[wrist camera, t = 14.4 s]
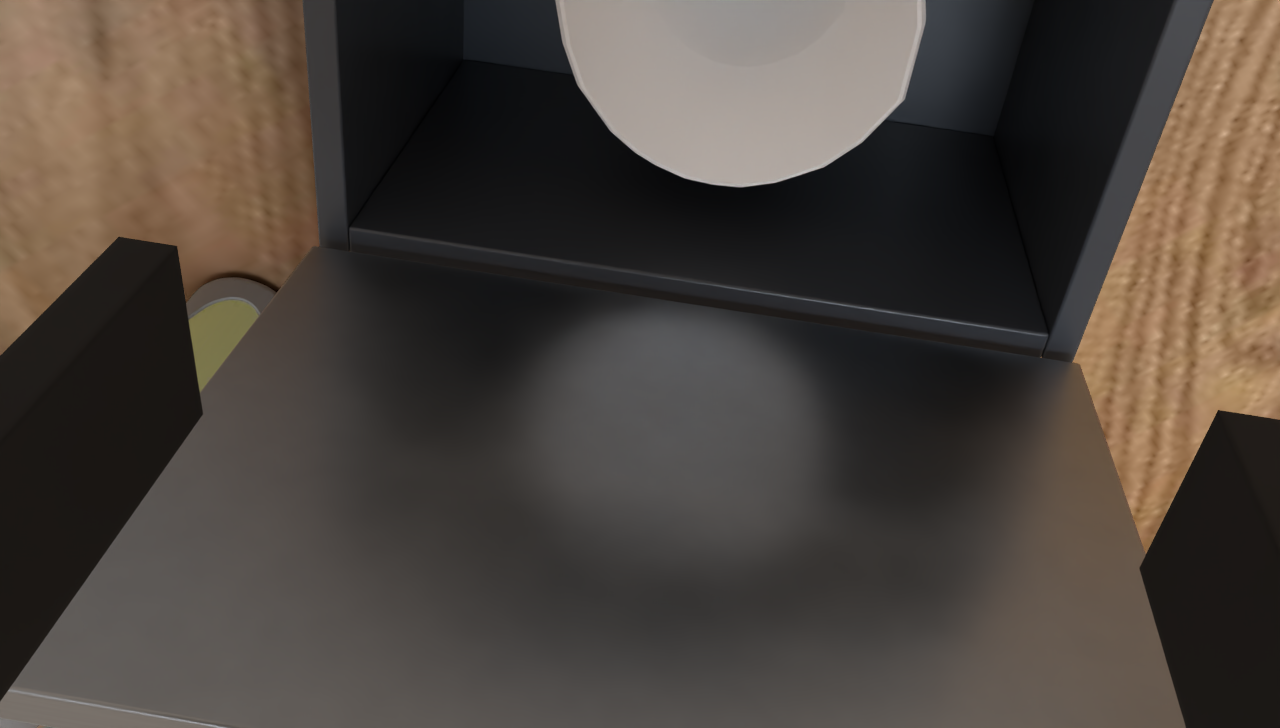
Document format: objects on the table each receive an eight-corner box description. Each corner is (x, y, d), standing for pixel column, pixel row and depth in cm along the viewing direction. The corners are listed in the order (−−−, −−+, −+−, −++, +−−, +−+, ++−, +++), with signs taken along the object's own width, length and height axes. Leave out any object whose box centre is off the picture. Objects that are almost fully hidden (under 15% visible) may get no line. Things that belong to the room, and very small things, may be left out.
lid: (-27, 683, 18) (-17, 717, 18) (1270, 907, 17) (1248, 938, 17) (312, 244, 30) (313, 271, 30) (1080, 362, 29) (1070, 388, 30)
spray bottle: (202, 253, 47) (-126, 632, 31) (319, 298, 47) (57, 694, 31) (185, 344, 50) (-124, 736, 33) (295, 385, 50) (44, 791, 34)
